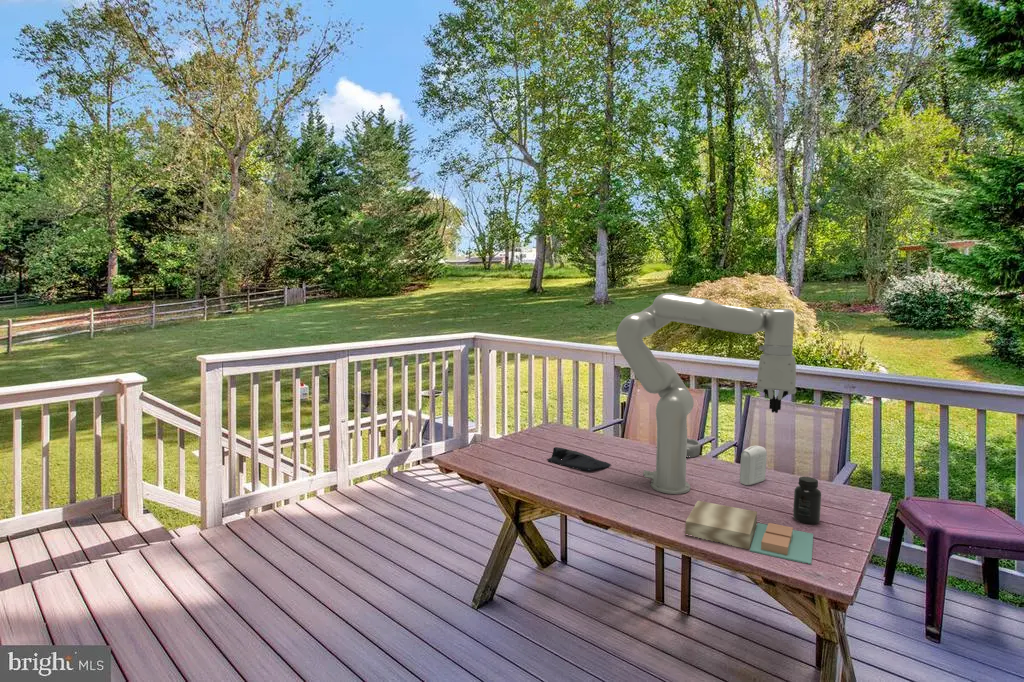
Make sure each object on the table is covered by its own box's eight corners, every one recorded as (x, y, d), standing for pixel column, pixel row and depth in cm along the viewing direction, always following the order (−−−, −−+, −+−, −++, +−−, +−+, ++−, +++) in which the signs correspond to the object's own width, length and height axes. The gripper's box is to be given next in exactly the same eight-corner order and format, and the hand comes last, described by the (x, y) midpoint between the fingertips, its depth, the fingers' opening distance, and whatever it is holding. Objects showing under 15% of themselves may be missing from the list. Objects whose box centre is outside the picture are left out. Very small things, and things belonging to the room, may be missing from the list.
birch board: (685, 535, 151) (685, 521, 150) (697, 513, 165) (697, 500, 164) (749, 549, 143) (750, 534, 143) (756, 525, 157) (757, 511, 157)
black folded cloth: (586, 476, 197) (586, 463, 196) (543, 461, 214) (543, 449, 213) (614, 467, 207) (615, 454, 206) (571, 453, 223) (571, 441, 223)
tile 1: (790, 536, 145) (790, 543, 145) (793, 527, 150) (792, 534, 150) (765, 531, 148) (765, 538, 148) (768, 522, 153) (768, 529, 153)
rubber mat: (749, 551, 142) (749, 549, 142) (757, 524, 158) (757, 522, 158) (811, 564, 135) (811, 563, 135) (813, 535, 151) (813, 533, 151)
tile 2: (787, 547, 139) (787, 555, 139) (790, 537, 144) (789, 545, 144) (761, 541, 142) (761, 549, 142) (764, 532, 147) (764, 539, 148)
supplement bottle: (825, 523, 158) (828, 482, 157) (805, 526, 156) (808, 484, 155) (806, 513, 165) (808, 474, 164) (787, 516, 163) (789, 476, 162)
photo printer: (755, 476, 195) (757, 442, 194) (767, 480, 192) (769, 445, 190) (737, 482, 190) (739, 447, 188) (748, 486, 186) (750, 450, 185)
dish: (691, 461, 213) (692, 448, 212) (657, 453, 221) (658, 441, 221) (706, 452, 223) (707, 439, 223) (673, 445, 232) (674, 433, 232)
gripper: (749, 350, 166) (746, 411, 168) (806, 354, 158) (802, 417, 161) (752, 347, 172) (749, 406, 174) (807, 351, 165) (803, 412, 167)
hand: (774, 411), depth 167 cm, fingers closed
